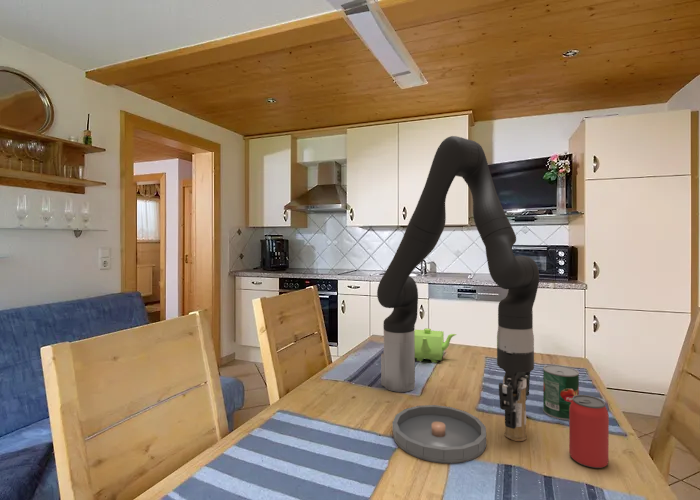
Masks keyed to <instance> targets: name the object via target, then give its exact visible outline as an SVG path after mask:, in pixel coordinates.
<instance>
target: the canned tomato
mask: <svg viewBox="0 0 700 500" xmlns="http://www.w3.org/2000/svg"><path fill="white" fill-rule="evenodd" d="M542 372H543V373H542V375H543V376H542V377H543V385H542V386H543V401H542V402H543V408H542V410H543V413H544V414H546V415H547V416H549V417H551V418H554V419H558V420H562V421H569V408H570V404H571V402H572V400H573V399H572V398H573V396H576V395H580V393H579V390H580V382H579V381H580V372H579V371H578V370H577V369H575V368H573V367H570V366H567V365H566V366H565V365H560V364H547V365H545V366H543V370H542Z"/></svg>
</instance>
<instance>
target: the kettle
mask: <svg viewBox="0 0 700 500" xmlns="http://www.w3.org/2000/svg"><path fill="white" fill-rule="evenodd" d="M414 330H415V362H418V361H421V362H423V360H424V359H425V360H430V362H431V363H432V362H433V363H432V364H438V363H437V362H438V361H442V360H443V356H444V354H445V352H444V351H446V350H447V349H448V347H449V345H450V343H451V340H452V338H453V337H455V336H457V334H455V333H451V334H448V335H447V337H446V340H445V341H444V339H445V338H444V335H445V333H444V331H443V330H441V331H440V330H432V329H431V328H424V329H414Z"/></svg>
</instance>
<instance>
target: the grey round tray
mask: <svg viewBox="0 0 700 500" xmlns="http://www.w3.org/2000/svg"><path fill="white" fill-rule="evenodd" d="M392 433H393V439H394V441H395V444H396V445H397V446H398V447H399V449H401V450H402V451H404V453H407V454H408V455H410V456H412V457H414V458H417V459H420V460H423V461H426V462H431V463H436V464H437V463H438V464H460V462H461V463H465V462H466V461H467V462H469V461H470V462H471V461H472V460H474V459H477V458H478V457H480V456H482V454H483V453H484V452H485V450H486V447H487V427H486V425H485V424H484V423H483V422H482V421H481V419H480V418H479V417H477V416H475V415H473V414H471V413H469V412H467V411H465V410H462V409H458V408H455V407H451V406H445V405H437V404H428V405H427V404H425V405H415V406H412V407H408V408H405V409H403V410H402V411H400V412H398V413H397V414H395V416H394V418H393V421H392Z"/></svg>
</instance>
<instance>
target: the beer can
mask: <svg viewBox="0 0 700 500" xmlns="http://www.w3.org/2000/svg"><path fill="white" fill-rule="evenodd" d="M572 399H573V400H572V402H571V404H570V408H569V420H568V423H569V424H568V425H569V426H568V427H569V435H568V437H569V439H568V441H569V442H568V443H569V444H568V448H569V449H568V450H569V456H570V457H571V458H572V459H573V460H574V462H576V463H578V464H580V465H582V466H585V467H588V468H592V469H601V468H605V467H606V466H608V464H609V452H610V451H609V449H610V448H609V440H610V439H609V438H610V437H609V434H610V433H609V428H610V427H609V426H610V425H609V424H610V423H609V420H610V419H609V418H610V417H609V412H608V409H607V407H606V402H605V401H604V400H603V399H601V398H599V397H596V396H592V395H589V394H588V395H586V394H579V395H576V396H573V398H572Z"/></svg>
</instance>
